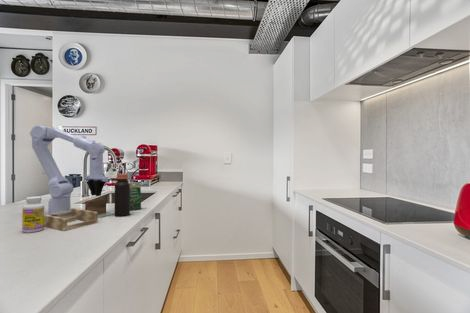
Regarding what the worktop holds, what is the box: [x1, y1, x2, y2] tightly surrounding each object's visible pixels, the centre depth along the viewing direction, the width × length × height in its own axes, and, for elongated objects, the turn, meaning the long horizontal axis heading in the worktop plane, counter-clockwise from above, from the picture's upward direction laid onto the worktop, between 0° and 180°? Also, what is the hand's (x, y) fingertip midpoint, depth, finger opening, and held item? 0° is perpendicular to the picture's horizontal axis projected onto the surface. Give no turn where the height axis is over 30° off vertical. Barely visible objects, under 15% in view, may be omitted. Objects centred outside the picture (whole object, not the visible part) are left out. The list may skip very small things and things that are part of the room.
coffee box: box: [130, 184, 142, 211], centre depth 137 cm, size 8×3×13 cm, turn 122°
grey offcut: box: [50, 211, 72, 218], centre depth 111 cm, size 4×7×2 cm, turn 168°
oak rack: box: [44, 207, 99, 232], centre depth 109 cm, size 18×14×4 cm
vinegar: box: [114, 173, 131, 217], centre depth 125 cm, size 7×7×20 cm
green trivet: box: [98, 211, 115, 219], centre depth 125 cm, size 12×12×1 cm
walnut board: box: [84, 197, 107, 214], centre depth 125 cm, size 3×9×7 cm, turn 153°
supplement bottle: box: [21, 195, 45, 234], centre depth 99 cm, size 7×7×13 cm
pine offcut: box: [66, 216, 77, 224], centre depth 111 cm, size 5×9×2 cm, turn 157°
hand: (96, 195), depth 125 cm, fingers open, 3 cm apart
